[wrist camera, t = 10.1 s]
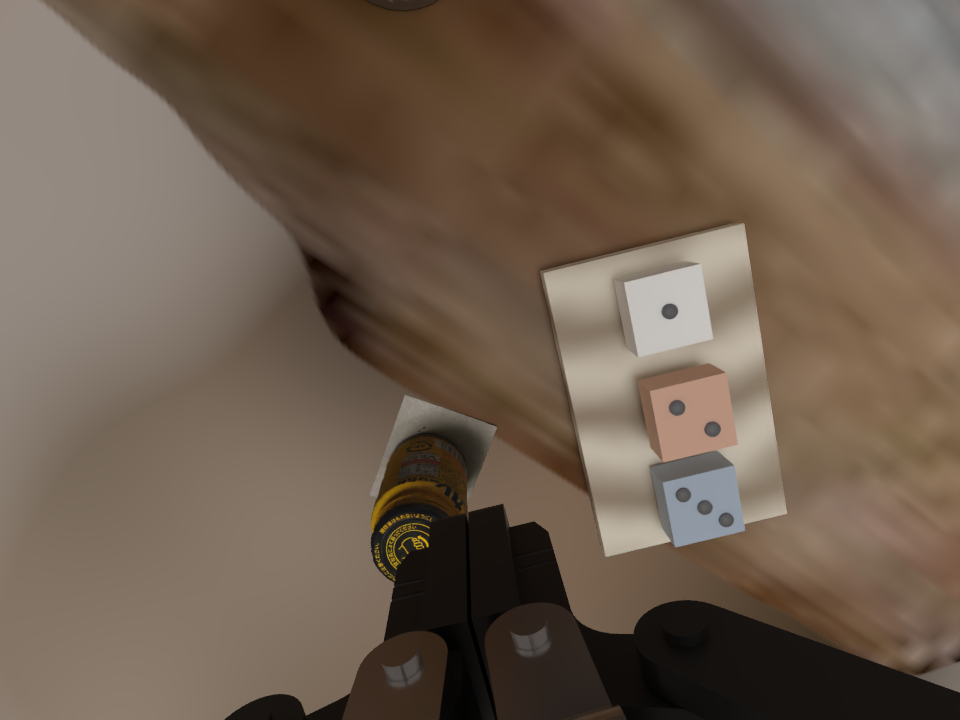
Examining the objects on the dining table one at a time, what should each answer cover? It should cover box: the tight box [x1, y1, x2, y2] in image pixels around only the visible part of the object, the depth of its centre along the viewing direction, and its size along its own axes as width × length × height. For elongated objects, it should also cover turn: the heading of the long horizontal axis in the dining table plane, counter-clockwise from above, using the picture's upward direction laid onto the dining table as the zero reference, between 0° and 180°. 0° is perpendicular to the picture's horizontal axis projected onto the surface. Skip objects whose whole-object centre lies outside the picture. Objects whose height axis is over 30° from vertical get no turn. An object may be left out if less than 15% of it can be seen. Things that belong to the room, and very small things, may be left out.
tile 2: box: [638, 363, 738, 463], centre depth 41 cm, size 5×5×3 cm
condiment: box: [369, 395, 497, 583], centre depth 41 cm, size 7×8×12 cm
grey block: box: [650, 451, 745, 547], centre depth 44 cm, size 5×5×3 cm
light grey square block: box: [613, 261, 713, 357], centre depth 41 cm, size 5×5×3 cm
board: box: [540, 223, 787, 557], centre depth 45 cm, size 22×14×4 cm, turn 14°
